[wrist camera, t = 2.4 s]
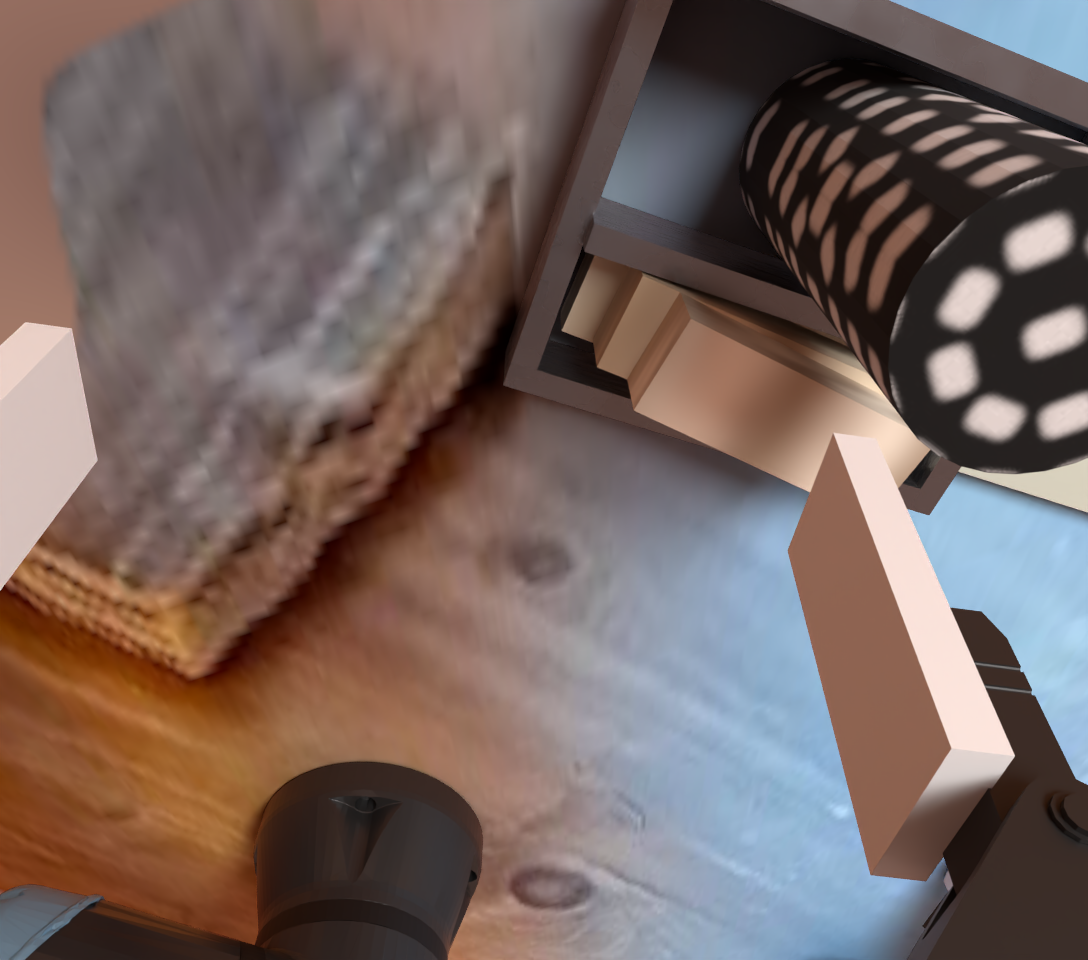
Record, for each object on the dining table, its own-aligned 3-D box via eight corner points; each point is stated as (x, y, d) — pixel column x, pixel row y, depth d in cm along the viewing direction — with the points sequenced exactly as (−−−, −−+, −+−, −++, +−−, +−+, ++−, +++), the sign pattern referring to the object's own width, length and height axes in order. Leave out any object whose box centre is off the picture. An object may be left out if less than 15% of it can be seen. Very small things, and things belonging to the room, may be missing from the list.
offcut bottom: (925, 357, 46) (949, 382, 44) (877, 429, 48) (897, 457, 46) (596, 223, 42) (600, 242, 40) (560, 307, 45) (561, 331, 42)
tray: (1127, 113, 40) (1271, 158, 32) (901, 473, 49) (970, 576, 41) (654, -81, 36) (687, -83, 28) (505, 350, 45) (499, 438, 37)
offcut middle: (920, 378, 43) (945, 407, 41) (867, 453, 45) (887, 484, 43) (635, 253, 40) (642, 276, 38) (592, 340, 42) (596, 367, 40)
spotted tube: (906, 22, 38) (1217, 102, 21) (947, 209, 42) (1237, 406, 24) (713, 111, 39) (852, 253, 22) (770, 282, 43) (926, 515, 26)
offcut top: (911, 409, 41) (936, 442, 38) (850, 485, 43) (871, 520, 40) (679, 292, 38) (690, 318, 35) (627, 379, 40) (633, 410, 37)
